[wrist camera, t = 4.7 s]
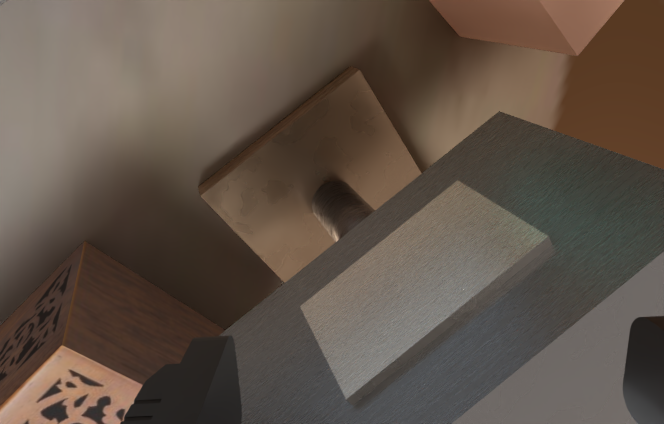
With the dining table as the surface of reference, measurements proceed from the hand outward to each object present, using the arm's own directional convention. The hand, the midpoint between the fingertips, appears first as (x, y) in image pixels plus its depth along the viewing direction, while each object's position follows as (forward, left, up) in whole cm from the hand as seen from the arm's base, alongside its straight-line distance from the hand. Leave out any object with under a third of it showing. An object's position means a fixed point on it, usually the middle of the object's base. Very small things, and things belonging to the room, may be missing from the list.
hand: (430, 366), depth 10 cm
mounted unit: (+8, +1, -22) cm, 24 cm away
